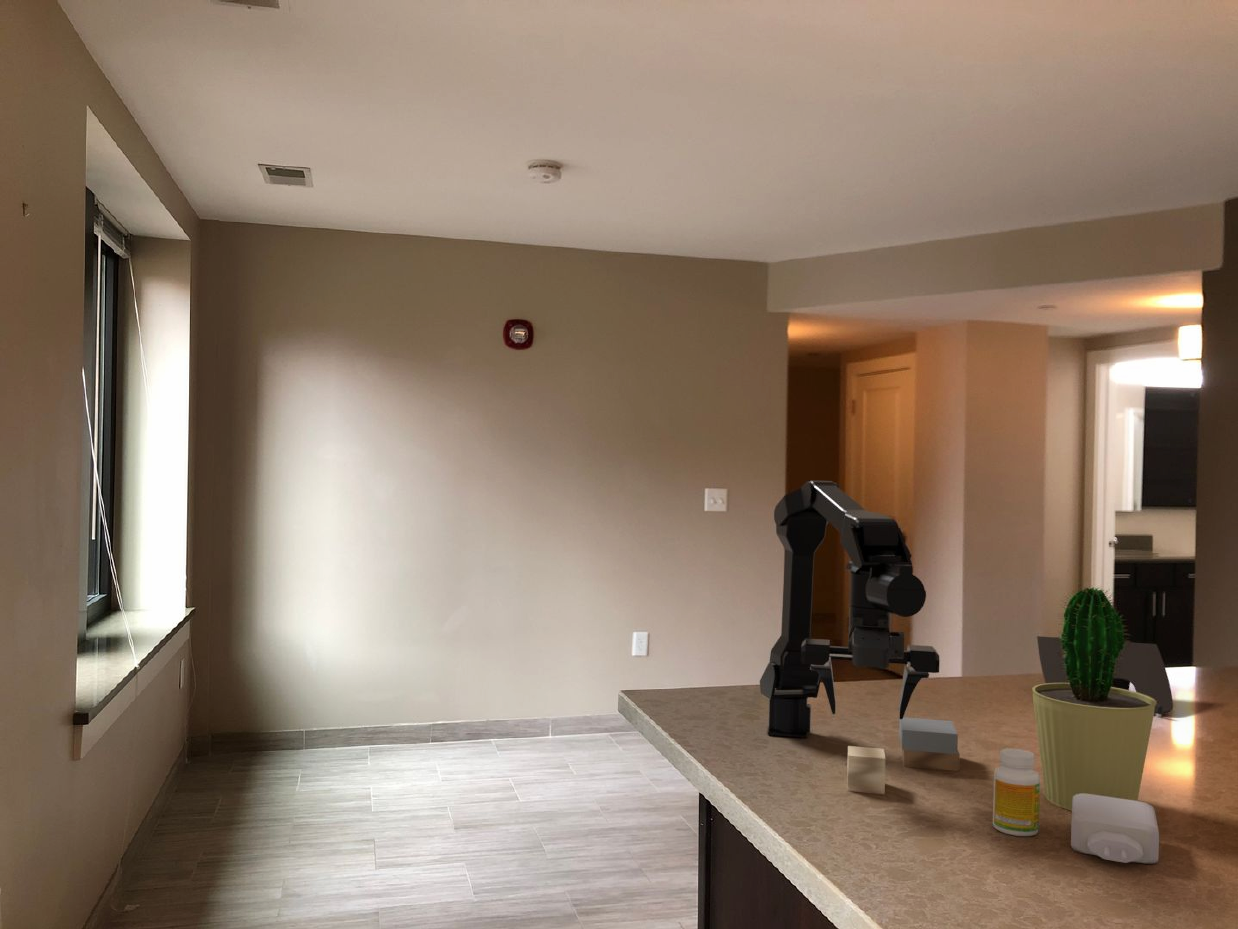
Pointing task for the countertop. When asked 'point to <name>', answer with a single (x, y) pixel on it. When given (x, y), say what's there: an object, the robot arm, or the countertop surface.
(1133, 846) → the charger
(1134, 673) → the portable electronic device stand
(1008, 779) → the supplement bottle
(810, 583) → the robot arm
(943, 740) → the slate block
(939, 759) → the walnut block
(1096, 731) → the potted cactus
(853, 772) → the birch cube
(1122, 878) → the countertop surface
